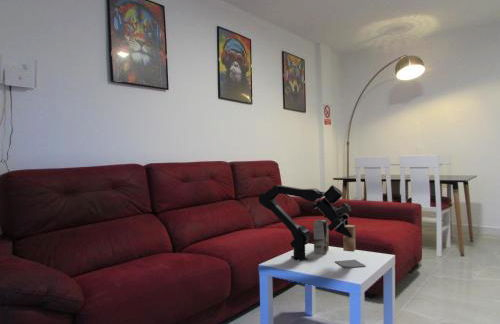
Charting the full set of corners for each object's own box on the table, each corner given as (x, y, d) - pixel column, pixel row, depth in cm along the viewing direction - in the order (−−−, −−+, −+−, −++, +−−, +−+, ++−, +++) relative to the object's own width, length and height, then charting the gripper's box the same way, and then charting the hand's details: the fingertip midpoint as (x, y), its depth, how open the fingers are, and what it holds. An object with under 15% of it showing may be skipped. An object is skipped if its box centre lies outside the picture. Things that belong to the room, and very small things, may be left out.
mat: (335, 262, 167) (335, 261, 167) (354, 260, 168) (354, 259, 168) (344, 268, 157) (344, 267, 157) (365, 266, 159) (365, 265, 159)
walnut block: (343, 250, 162) (343, 226, 161) (345, 248, 165) (345, 224, 165) (353, 251, 159) (353, 227, 159) (355, 249, 163) (355, 225, 163)
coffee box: (326, 254, 180) (325, 222, 180) (313, 253, 182) (313, 221, 182) (329, 249, 188) (328, 219, 188) (316, 249, 191) (316, 218, 191)
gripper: (335, 200, 156) (361, 228, 151) (344, 196, 172) (368, 220, 167) (317, 217, 159) (342, 244, 154) (328, 211, 176) (351, 236, 171)
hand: (352, 235), depth 162 cm, fingers closed on walnut block, 4 cm apart
